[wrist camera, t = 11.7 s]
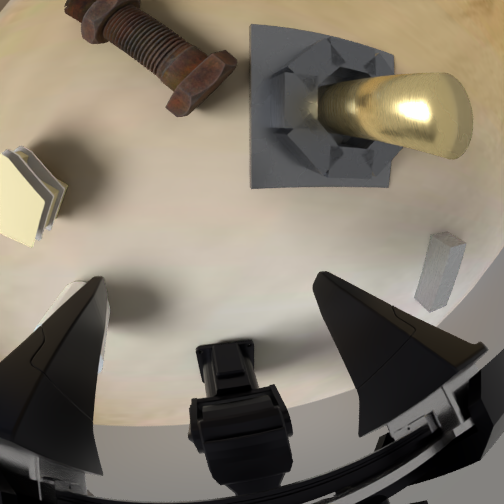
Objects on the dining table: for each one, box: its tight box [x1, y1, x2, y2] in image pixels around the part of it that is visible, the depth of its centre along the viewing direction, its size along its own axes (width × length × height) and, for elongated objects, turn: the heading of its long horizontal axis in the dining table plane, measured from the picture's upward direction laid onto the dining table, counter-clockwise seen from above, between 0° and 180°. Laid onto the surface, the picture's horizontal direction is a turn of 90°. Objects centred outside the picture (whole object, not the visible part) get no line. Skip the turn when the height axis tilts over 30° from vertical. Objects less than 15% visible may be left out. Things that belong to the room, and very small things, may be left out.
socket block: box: [250, 24, 403, 189], centre depth 19 cm, size 14×14×4 cm
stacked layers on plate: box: [0, 146, 68, 248], centre depth 15 cm, size 10×9×6 cm
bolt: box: [64, 0, 237, 117], centre depth 13 cm, size 6×5×15 cm
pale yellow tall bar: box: [317, 73, 473, 159], centre depth 14 cm, size 4×4×12 cm
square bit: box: [414, 232, 466, 313], centre depth 31 cm, size 10×4×4 cm, turn 3°
